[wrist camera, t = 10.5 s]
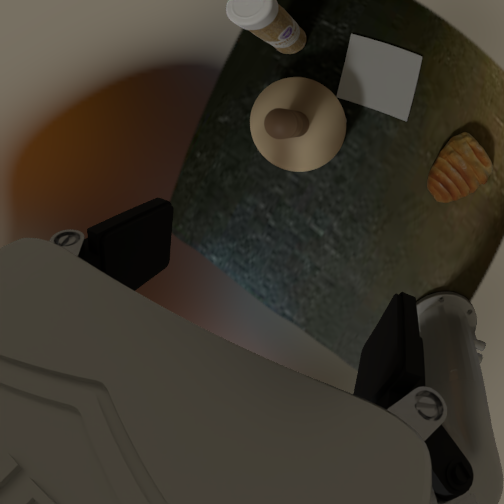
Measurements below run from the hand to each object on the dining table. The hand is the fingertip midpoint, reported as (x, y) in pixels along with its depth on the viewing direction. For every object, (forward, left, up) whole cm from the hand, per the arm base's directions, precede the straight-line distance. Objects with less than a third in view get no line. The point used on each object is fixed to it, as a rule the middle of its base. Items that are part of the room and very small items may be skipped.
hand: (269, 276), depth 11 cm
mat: (-1, -13, -28) cm, 31 cm away
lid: (+6, -4, -24) cm, 25 cm away
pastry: (-14, -6, -29) cm, 33 cm away
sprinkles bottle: (+11, -15, -28) cm, 34 cm away
